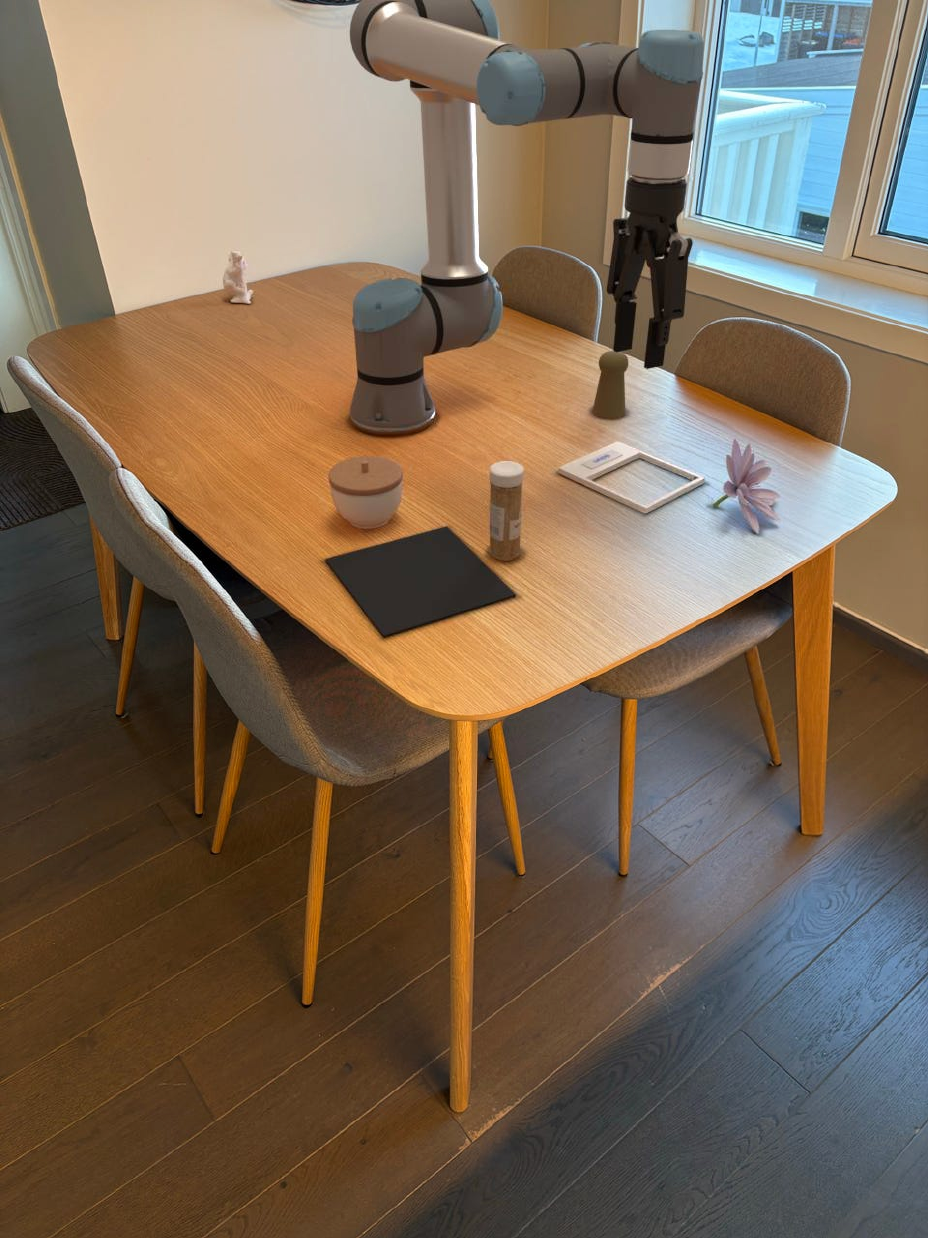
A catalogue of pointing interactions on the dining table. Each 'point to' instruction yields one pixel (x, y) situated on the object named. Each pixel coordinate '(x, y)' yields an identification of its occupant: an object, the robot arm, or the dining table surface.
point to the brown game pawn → (611, 386)
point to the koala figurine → (237, 278)
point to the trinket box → (366, 490)
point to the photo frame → (614, 458)
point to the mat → (418, 580)
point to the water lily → (748, 485)
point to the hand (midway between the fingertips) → (637, 357)
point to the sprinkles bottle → (505, 510)
